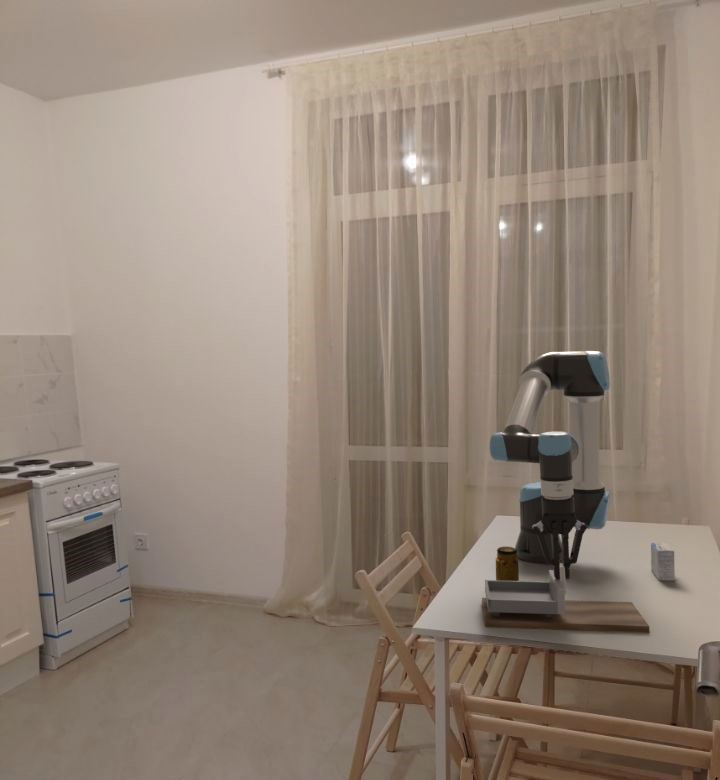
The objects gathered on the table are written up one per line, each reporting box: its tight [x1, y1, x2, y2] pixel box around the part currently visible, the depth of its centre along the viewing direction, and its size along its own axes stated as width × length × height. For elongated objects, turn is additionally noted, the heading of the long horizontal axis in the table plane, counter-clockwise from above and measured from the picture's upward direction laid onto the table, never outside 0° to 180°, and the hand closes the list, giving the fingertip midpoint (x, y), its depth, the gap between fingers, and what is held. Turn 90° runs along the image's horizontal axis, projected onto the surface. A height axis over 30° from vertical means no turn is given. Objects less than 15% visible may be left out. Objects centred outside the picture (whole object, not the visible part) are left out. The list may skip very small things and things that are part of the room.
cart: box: [484, 569, 566, 620], centre depth 154 cm, size 13×18×8 cm
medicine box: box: [650, 542, 676, 582], centre depth 179 cm, size 8×4×9 cm, turn 168°
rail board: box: [481, 597, 650, 633], centre depth 153 cm, size 14×37×2 cm, turn 82°
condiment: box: [495, 546, 520, 581], centre depth 169 cm, size 7×8×12 cm
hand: (562, 591), depth 153 cm, fingers closed
